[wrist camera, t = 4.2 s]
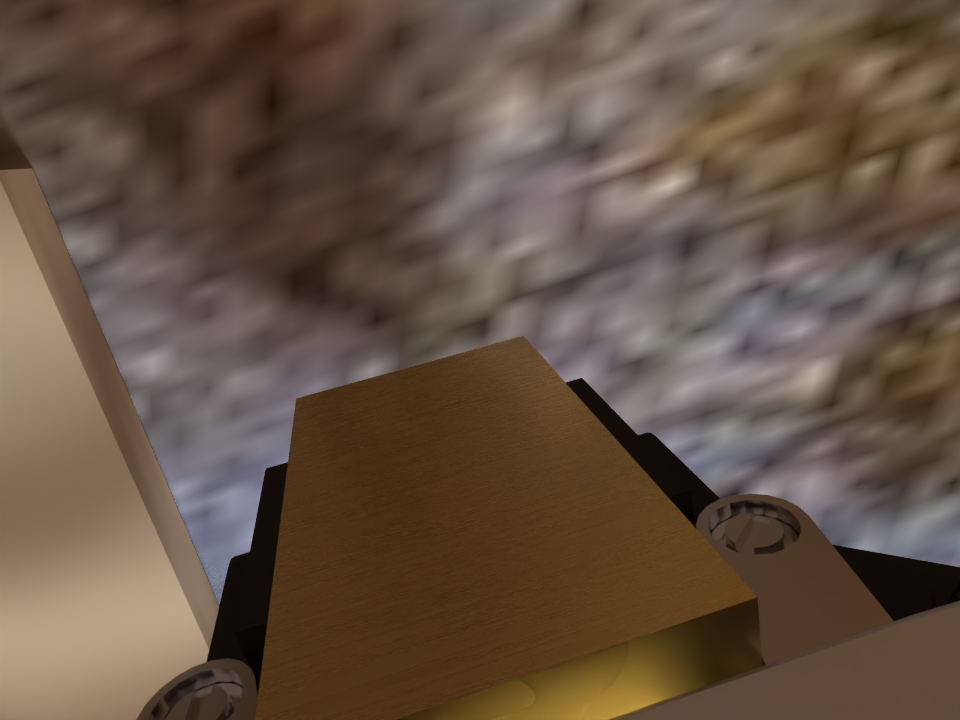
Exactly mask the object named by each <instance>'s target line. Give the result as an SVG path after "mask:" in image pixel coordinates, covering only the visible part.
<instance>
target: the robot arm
mask: <svg viewBox="0 0 960 720" xmlns="http://www.w3.org/2000/svg"><path fill="white" fill-rule="evenodd" d="M566 384H567V385H568V386H569V387H570V388H571V390H572V391H573V392H574V393H575V394H576V395H577V396H578V397H579V398H580V400H581V401H582V402H583V403H584V404H585V405H586V406H587V407H588V409H589V410H590V411H591V412H592V413H593V414H594V415H595V416H596V417H597V419H598V420H599V421H600V422H601V423H602V424H603V425H604V426H605V427H606V429H607V430H608V431H609V432H610V433H611V434H612V435H613V436H614V438H615V439H616V440H617V441H618V442H619V443H620V444H621V445H622V446H623V448H624V449H625V450H626V451H627V452H628V453H629V454H630V455H631V456H632V458H633V459H634V460H635V461H636V462H637V463H638V464H639V465H640V467H641V468H642V469H643V470H644V471H645V472H646V473H647V474H648V475H649V477H650V478H651V479H652V480H653V481H654V482H655V483H656V484H657V485H658V487H659V488H660V489H661V490H662V491H663V492H664V493H665V494H666V496H667V497H668V498H669V499H670V500H671V501H672V502H673V503H674V504H675V506H676V507H677V508H678V509H679V510H680V511H681V512H682V513H683V514H684V516H685V517H686V518H687V519H688V520H689V521H690V522H691V523H692V525H693V526H694V527H695V528H696V529H697V530H698V531H699V532H700V533H701V535H702V536H703V537H704V538H705V539H706V540H707V541H708V542H709V543H710V545H711V546H712V547H713V548H714V549H715V550H716V551H717V552H718V554H719V555H720V556H721V557H722V558H723V559H724V560H725V561H726V562H727V564H728V565H729V566H730V567H731V568H732V569H733V570H734V571H735V573H736V574H737V575H738V576H739V577H740V578H741V579H742V580H743V581H744V583H745V584H746V585H747V586H748V587H749V588H750V589H751V590H752V591H753V593H754V594H755V595H756V596H757V597H758V609H759V622H760V636H761V649H762V662H763V666H762V667H759V668H756V669H753V670H750V671H747V672H744V673H741V674H739V675H736V676H733V677H730V678H727V679H724V680H721V681H718V682H715V683H712V684H710V685H707V686H704V687H701V688H698V689H695V690H692V691H689V692H686V693H683V694H680V695H678V696H675V697H672V698H669V699H666V700H663V701H660V702H657V703H654V704H651V705H649V706H646V707H643V708H640V709H637V710H634V711H631V712H629V713H626V714H623V715H620V716H617V717H614V718H611V719H609V720H960V567H955V566H949V565H944V564H938V563H932V562H927V561H921V560H915V559H910V558H904V557H898V556H893V555H887V554H882V553H876V552H870V551H865V550H859V549H853V548H848V547H842V546H836V545H832V544H831V543H830V541H829V540H828V539H827V538H826V537H825V535H824V534H823V533H822V532H821V530H820V529H819V528H818V527H817V525H816V524H815V523H814V522H813V520H812V519H811V518H810V517H809V516H808V515H807V514H806V513H805V512H804V511H803V510H802V509H800V508H799V507H798V506H796V505H794V504H792V503H790V502H788V501H786V500H784V499H780V498H776V497H772V496H769V495H759V494H743V495H733V496H729V497H726V498H723V499H720V498H719V497H718V496H717V495H716V494H715V493H714V492H712V491H711V490H710V489H709V488H708V487H707V486H706V485H705V484H704V483H703V482H702V481H701V480H700V479H699V478H698V477H697V476H696V475H695V474H694V473H693V472H692V471H691V470H690V469H689V468H688V467H687V466H686V465H685V464H684V463H683V462H682V461H681V460H680V459H679V458H677V457H676V456H675V455H674V454H673V453H672V452H671V451H670V450H669V449H668V448H667V447H666V446H665V445H664V444H663V443H662V442H661V441H660V440H659V439H658V438H657V437H656V436H655V435H653V434H652V433H644V434H641V435H637V434H636V433H635V432H634V431H633V430H632V429H631V428H630V427H629V426H628V425H627V424H626V423H625V422H624V421H623V420H622V419H621V418H620V416H619V415H618V414H617V413H616V412H615V411H614V410H613V409H612V408H611V407H610V406H609V405H608V404H607V403H606V402H605V401H604V400H603V399H602V398H601V397H600V396H599V395H598V394H597V393H596V392H595V391H594V390H593V389H592V388H591V387H590V386H589V385H588V384H587V383H586V382H585V381H584V380H583V379H582V378H580V379H577V380H573V381H570V382H566ZM287 467H288V462H287V463H284V464H280V465H277V466H273V467H270V468H266V471H265V476H264V481H263V486H262V492H261V497H260V502H259V507H258V513H257V518H256V523H255V528H254V534H253V539H252V544H251V550H250V552H248V553H245V554H241V555H238V556H235V557H233V558H232V559H231V561H230V563H229V567H228V571H227V576H226V580H225V584H224V588H223V593H222V597H221V601H220V606H219V610H218V614H217V619H216V623H215V627H214V632H213V636H212V640H211V645H210V649H209V653H208V657H207V662H205V663H203V664H200V665H197V666H194V667H192V668H190V669H189V670H187V671H185V672H183V673H181V674H179V675H178V676H176V677H175V678H173V679H172V680H171V681H170V682H168V683H167V684H166V685H164V686H163V687H162V688H160V689H159V690H158V692H157V693H156V694H155V695H154V696H153V697H152V698H151V699H150V700H149V701H148V702H147V703H146V705H145V706H144V708H143V709H142V711H141V713H140V714H139V716H138V718H137V719H136V720H255V716H256V708H257V701H258V693H259V685H260V677H261V669H262V662H263V654H264V646H265V638H266V630H267V623H268V615H269V607H270V599H271V591H272V584H273V576H274V568H275V560H276V552H277V545H278V537H279V529H280V521H281V513H282V506H283V498H284V490H285V482H286V474H287Z"/></svg>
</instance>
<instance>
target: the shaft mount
mask: <svg viewBox="0 0 960 720" xmlns="http://www.w3.org/2000/svg"><path fill="white" fill-rule="evenodd" d="M218 610H219V604H218V602H217V600H216V597H215V595H214V593H213V590H212V588H211V586H210V583H209V581H208V579H207V576H206V574H205V572H204V569H203V567H202V565H201V562H200V560H199V558H198V555H197V553H196V551H195V548H194V546H193V544H192V541H191V539H190V536H189V534H188V532H187V529H186V527H185V525H184V522H183V520H182V518H181V515H180V513H179V511H178V508H177V506H176V504H175V501H174V499H173V497H172V494H171V492H170V490H169V487H168V485H167V483H166V480H165V478H164V476H163V473H162V471H161V469H160V466H159V464H158V462H157V459H156V457H155V455H154V452H153V450H152V447H151V445H150V443H149V440H148V438H147V436H146V433H145V431H144V429H143V426H142V424H141V422H140V419H139V417H138V415H137V412H136V410H135V408H134V405H133V403H132V401H131V398H130V396H129V394H128V391H127V389H126V387H125V384H124V382H123V380H122V377H121V375H120V373H119V370H118V368H117V366H116V363H115V361H114V358H113V356H112V354H111V351H110V349H109V347H108V344H107V342H106V340H105V337H104V335H103V333H102V330H101V328H100V326H99V323H98V321H97V319H96V316H95V314H94V312H93V309H92V307H91V305H90V302H89V300H88V298H87V295H86V293H85V291H84V288H83V286H82V284H81V281H80V279H79V277H78V274H77V272H76V269H75V267H74V265H73V262H72V260H71V258H70V255H69V253H68V251H67V248H66V246H65V244H64V241H63V239H62V237H61V234H60V232H59V230H58V227H57V225H56V223H55V220H54V218H53V216H52V213H51V211H50V209H49V206H48V204H47V202H46V199H45V197H44V195H43V192H42V190H41V187H40V185H39V183H38V180H37V178H36V176H35V173H34V171H33V169H11V170H0V720H136V719H137V718H138V716H139V714H140V713H141V711H142V709H143V708H144V706H145V705H146V703H147V702H148V701H149V700H150V699H151V698H152V697H153V696H154V695H155V694H156V693H157V692H158V690H159V689H160V688H162V687H163V686H164V685H166V684H167V683H168V682H170V681H171V680H172V679H173V678H175V677H176V676H178V675H179V674H181V673H183V672H185V671H187V670H189V669H190V668H192V667H194V666H197V665H200V664H203V663H205V662H207V657H208V653H209V649H210V645H211V640H212V636H213V632H214V627H215V623H216V619H217V614H218Z"/></svg>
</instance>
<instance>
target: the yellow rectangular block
mask: <svg viewBox="0 0 960 720" xmlns="http://www.w3.org/2000/svg"><path fill="white" fill-rule="evenodd" d="M762 666H763V662H762V649H761V636H760V622H759V609H758V597H757V596H756V595H755V594H754V593H753V591H752V590H751V589H750V588H749V587H748V586H747V585H746V584H745V583H744V581H743V580H742V579H741V578H740V577H739V576H738V575H737V574H736V573H735V571H734V570H733V569H732V568H731V567H730V566H729V565H728V564H727V562H726V561H725V560H724V559H723V558H722V557H721V556H720V555H719V554H718V552H717V551H716V550H715V549H714V548H713V547H712V546H711V545H710V543H709V542H708V541H707V540H706V539H705V538H704V537H703V536H702V535H701V533H700V532H699V531H698V530H697V529H696V528H695V527H694V526H693V525H692V523H691V522H690V521H689V520H688V519H687V518H686V517H685V516H684V514H683V513H682V512H681V511H680V510H679V509H678V508H677V507H676V506H675V504H674V503H673V502H672V501H671V500H670V499H669V498H668V497H667V496H666V494H665V493H664V492H663V491H662V490H661V489H660V488H659V487H658V485H657V484H656V483H655V482H654V481H653V480H652V479H651V478H650V477H649V475H648V474H647V473H646V472H645V471H644V470H643V469H642V468H641V467H640V465H639V464H638V463H637V462H636V461H635V460H634V459H633V458H632V456H631V455H630V454H629V453H628V452H627V451H626V450H625V449H624V448H623V446H622V445H621V444H620V443H619V442H618V441H617V440H616V439H615V438H614V436H613V435H612V434H611V433H610V432H609V431H608V430H607V429H606V427H605V426H604V425H603V424H602V423H601V422H600V421H599V420H598V419H597V417H596V416H595V415H594V414H593V413H592V412H591V411H590V410H589V409H588V407H587V406H586V405H585V404H584V403H583V402H582V401H581V400H580V398H579V397H578V396H577V395H576V394H575V393H574V392H573V391H572V390H571V388H570V387H569V386H568V385H567V384H566V383H565V382H564V381H563V380H562V378H561V377H560V376H559V375H558V374H557V373H556V372H555V371H554V369H553V368H552V367H551V366H550V365H549V364H548V363H547V362H546V361H545V359H544V358H543V357H542V356H541V355H540V354H539V353H538V352H537V350H536V349H535V348H534V347H533V346H532V345H531V344H530V343H529V342H528V340H527V339H526V338H525V337H524V336H521V337H517V338H514V339H510V340H506V341H503V342H499V343H496V344H492V345H488V346H485V347H481V348H478V349H474V350H470V351H467V352H463V353H459V354H456V355H452V356H449V357H445V358H441V359H438V360H434V361H431V362H427V363H423V364H420V365H416V366H412V367H409V368H405V369H402V370H398V371H394V372H391V373H387V374H384V375H380V376H376V377H373V378H369V379H365V380H362V381H358V382H355V383H351V384H347V385H344V386H340V387H337V388H333V389H329V390H326V391H322V392H318V393H315V394H311V395H308V396H304V397H300V398H297V399H296V404H295V412H294V420H293V427H292V435H291V443H290V451H289V459H288V467H287V474H286V482H285V490H284V498H283V506H282V513H281V521H280V529H279V537H278V545H277V552H276V560H275V568H274V576H273V584H272V591H271V599H270V607H269V615H268V623H267V630H266V638H265V646H264V654H263V662H262V669H261V677H260V685H259V693H258V701H257V708H256V716H255V720H609V719H611V718H614V717H617V716H620V715H623V714H626V713H629V712H631V711H634V710H637V709H640V708H643V707H646V706H649V705H651V704H654V703H657V702H660V701H663V700H666V699H669V698H672V697H675V696H678V695H680V694H683V693H686V692H689V691H692V690H695V689H698V688H701V687H704V686H707V685H710V684H712V683H715V682H718V681H721V680H724V679H727V678H730V677H733V676H736V675H739V674H741V673H744V672H747V671H750V670H753V669H756V668H759V667H762Z"/></svg>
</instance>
